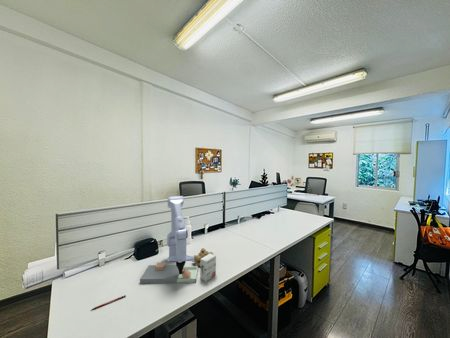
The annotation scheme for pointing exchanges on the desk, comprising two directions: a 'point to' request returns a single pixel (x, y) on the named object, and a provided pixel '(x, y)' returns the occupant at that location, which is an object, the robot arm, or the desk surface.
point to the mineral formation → (201, 256)
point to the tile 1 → (160, 266)
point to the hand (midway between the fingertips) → (181, 273)
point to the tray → (192, 277)
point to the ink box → (207, 267)
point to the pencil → (109, 302)
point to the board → (160, 275)
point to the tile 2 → (186, 273)
